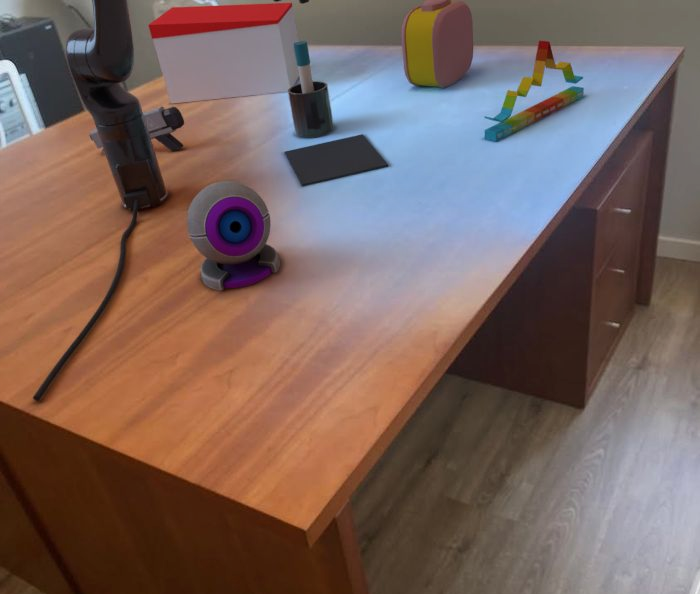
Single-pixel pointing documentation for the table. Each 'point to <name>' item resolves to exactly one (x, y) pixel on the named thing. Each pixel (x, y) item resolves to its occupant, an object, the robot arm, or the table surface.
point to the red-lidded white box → (226, 50)
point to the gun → (157, 127)
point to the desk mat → (334, 159)
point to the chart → (540, 109)
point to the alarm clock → (437, 43)
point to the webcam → (231, 235)
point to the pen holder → (311, 110)
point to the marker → (304, 66)
